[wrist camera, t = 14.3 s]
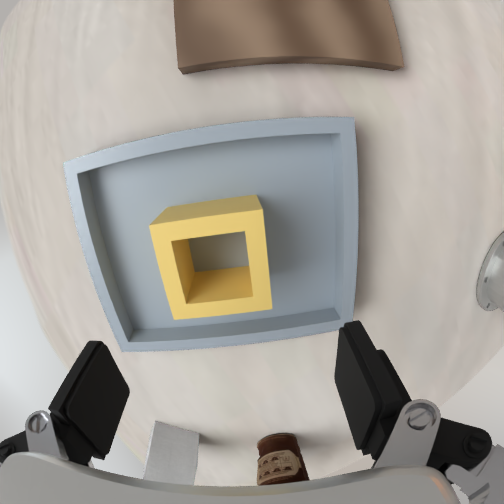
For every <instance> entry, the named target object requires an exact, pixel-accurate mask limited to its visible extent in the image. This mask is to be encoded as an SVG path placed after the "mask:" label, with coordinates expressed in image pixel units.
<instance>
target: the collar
mask: <svg viewBox="0 0 504 504" xmlns="http://www.w3.org/2000/svg"><path fill="white" fill-rule="evenodd" d="M149 228H150V233H151V237H152V241H153V246H154V250H155V254H156V258H157V262H158V266H159V270H160V273H161V277H162V281H163V284H164V288H165V292H166V295H167V298H168V302H169V305H170V309H171V312H172V315H173V318H174V320H178V319H190V318H201V317H211V316H220V315H229V314H238V313H246V312H254V311H262V310H270V309H272V298H271V288H270V277H269V266H268V256H267V246H266V236H265V226H264V216H263V209H262V206H261V204H260V202H259V200H258V197H257V195H248V196H240V197H232V198H225V199H217V200H210V201H203V202H197V203H190V204H184V205H177V206H171V207H167V208H166V209H165V210H164V211H163V212H162V213H161V214H160V215H159V216H158V217H157V218H156V219H155V220H154V221H153V222H152V223H151V224H150V225H149ZM242 231H245V236H246V244H247V252H248V259H249V266H242V267H234V268H226V269H218V270H210V271H201V272H195V271H194V266H193V261H192V257H191V252H190V247H189V242H188V239H189V238H196V237H204V236H211V235H218V234H226V233H234V232H242Z"/></svg>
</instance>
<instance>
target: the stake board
mask: <svg viewBox="0 0 504 504" xmlns="http://www.w3.org/2000/svg"><path fill="white" fill-rule="evenodd" d="M174 17H175V33H176V47H177V59H178V68H179V70H180V71H181V72H182V74H188V73H193V72H199V71H205V70H212V69H219V68H227V67H236V66H247V65H260V64H282V63H315V64H337V65H350V66H360V67H369V68H376V69H383V70H390V71H394V70H397V69H400V68H403V67H404V62H403V57H402V52H401V47H400V43H399V39H398V34H397V30H396V26H395V23H394V19H393V15H392V12H391V8H390V5H389V2H388V0H174Z"/></svg>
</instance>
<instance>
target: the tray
mask: <svg viewBox="0 0 504 504" xmlns="http://www.w3.org/2000/svg"><path fill="white" fill-rule="evenodd" d="M63 167H64V173H65V178H66V184H67V189H68V194H69V199H70V203H71V208H72V212H73V216H74V220H75V224H76V228H77V232H78V236H79V239H80V243H81V246H82V250H83V253H84V256H85V259H86V263H87V266H88V269H89V272H90V275H91V278H92V280H93V283H94V286H95V289H96V292H97V294H98V297H99V300H100V302H101V305H102V307H103V310H104V312H105V315H106V317H107V319H108V322H109V324H110V327H111V329H112V331H113V333H114V336H115V338H116V340H117V342H118V344H119V346H120V349H121V351H122V352H146V351H173V350H190V349H204V348H216V347H227V346H236V345H245V344H254V343H262V342H269V341H277V340H283V339H290V338H297V337H303V336H309V335H314V334H320V333H325V332H331V331H336V330H339V329H340V327H344V323H346V322H352V321H353V312H354V301H355V289H356V275H357V256H358V167H357V149H356V135H355V123H354V117H302V118H282V119H268V120H256V121H246V122H237V123H229V124H221V125H214V126H207V127H201V128H195V129H189V130H184V131H178V132H173V133H168V134H163V135H158V136H154V137H149V138H145V139H141V140H137V141H133V142H129V143H125V144H121V145H118V146H114V147H110V148H107V149H103V150H100V151H97V152H93V153H90V154H87V155H84V156H81V157H78V158H75V159H72V160H69V161H66V162H64V163H63ZM248 195H257V197H258V200H259V202H260V204H261V206H262V209H263V216H264V226H265V236H266V246H267V256H268V266H269V277H270V288H271V298H272V309H270V310H262V311H254V312H246V313H238V314H229V315H220V316H211V317H201V318H190V319H178V320H174V318H173V315H172V312H171V309H170V305H169V302H168V298H167V295H166V292H165V288H164V284H163V281H162V277H161V273H160V270H159V266H158V262H157V258H156V254H155V250H154V246H153V241H152V237H151V233H150V228H149V225H150V224H151V223H152V222H153V221H154V220H155V219H156V218H157V217H158V216H159V215H160V214H161V213H162V212H163V211H164V210H165V209H166V208H167V207H171V206H177V205H184V204H190V203H197V202H203V201H210V200H217V199H225V198H232V197H240V196H248ZM188 242H189V247H190V252H191V257H192V261H193V266H194V271H195V272H201V271H210V270H218V269H226V268H234V267H242V266H249V259H248V252H247V244H246V236H245V231H242V232H234V233H226V234H218V235H211V236H204V237H196V238H189V239H188Z"/></svg>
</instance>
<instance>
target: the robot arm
mask: <svg viewBox="0 0 504 504" xmlns="http://www.w3.org/2000/svg"><path fill="white" fill-rule="evenodd" d="M477 300H478V303H479V305H480V306H481V307H482V308H483V309H484V310H486V311H493V310H495V309H497V308H500V309H501V310H502V311H503V312H504V232H503V233H502V234H501V235H500V236H499V237H498V238H497V240H496V241H495V242H494V244H493V245H492V247H491V249H490V250H489V252H488V254H487V256H486V259H485V261H484V263H483V266H482V269H481V271H480V275H479V279H478V285H477ZM335 383H336V386H337V389H338V392H339V395H340V398H341V401H342V405H343V408H344V411H345V414H346V417H347V420H348V423H349V427H350V430H351V433H352V436H353V439H354V443H355V446H356V448H357V450H360V449H361V450H362V453H363V456H364V455H367V454H371V456H372V459H374V460H375V462H374V464H373V466H372V467H371V469H368V470H362V471H357V472H352V473H347V474H342V475H338V476H332V477H327V478H321V479H315V480H309V481H301V482H294V483H285V484H275V485H263V486H240V487H218V486H195V485H182V484H172V483H164V482H156V481H150V480H144V479H138V478H133V477H127V476H123V475H118V474H114V473H110V472H106V471H102V470H98V469H95V468H94V466H93V464H92V461H91V457H92V456H93V457H94V458H98V459H102V460H104V459H105V456H106V455H107V454H108V453H109V451H110V448H111V445H112V442H113V439H114V436H115V433H116V430H117V427H118V424H119V422H120V419H121V416H122V413H123V410H124V408H125V405H126V402H127V399H128V397H129V393H130V391H129V387H128V385H127V383H126V381H125V380H124V378H123V376H122V374H121V372H120V371H119V369H118V367H117V365H116V363H115V361H114V359H113V357H112V355H111V353H110V351H109V349H108V347H107V346H106V345H104V343H103V342H102V341H89V342H88V343H87V344H86V346H85V347H84V349H83V350H82V352H81V354H80V355H79V357H78V358H77V360H76V362H75V363H74V365H73V366H72V368H71V370H70V371H69V373H68V375H67V376H66V378H65V380H64V381H63V383H62V385H61V386H60V388H59V390H58V392H57V393H56V395H55V397H54V399H53V400H52V402H51V404H50V406H49V408H48V409H49V410H50V411H51V413H50V415H49V414H48V413H47V412H45V411H36V412H34V413H32V414H31V415H30V416H29V417H28V419H27V421H26V424H25V431H23V432H21V433H19V434H17V435H14V436H12V437H10V438H8V439H5V440H4V441H2V442H1V443H0V504H460V501H459V499H458V497H457V495H456V493H455V491H454V489H453V487H452V486H451V484H454V483H455V484H456V485H458V486H459V487H461V489H460V490H461V491H462V492H464V493H465V494H466V495H467V496H468V499H469V504H504V448H503V447H501V446H500V445H498V444H497V445H496V446H494V445H492V440H491V437H490V435H489V434H488V433H487V432H486V431H485V430H483V429H480V428H477V427H473V426H469V425H465V424H462V423H458V422H454V421H451V420H448V419H444V418H441V414H440V410H439V409H438V407H437V406H436V405H435V404H434V403H432V402H431V401H428V400H424V399H417V400H413V401H412V400H411V398H410V396H409V394H408V392H407V391H406V389H405V387H404V385H403V383H402V381H401V380H400V378H399V376H398V374H397V372H396V371H395V369H394V367H393V365H392V363H391V362H390V360H389V358H388V356H387V355H386V353H385V352H384V351H383V350H382V349H381V350H376V348H375V346H374V345H373V343H372V341H371V339H370V337H369V336H368V334H367V332H366V330H365V329H364V327H363V325H362V324H361V322H360V321H359V320H358V321H352V322H346V323H344V327H340V329H339V338H338V349H337V358H336V367H335Z"/></svg>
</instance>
